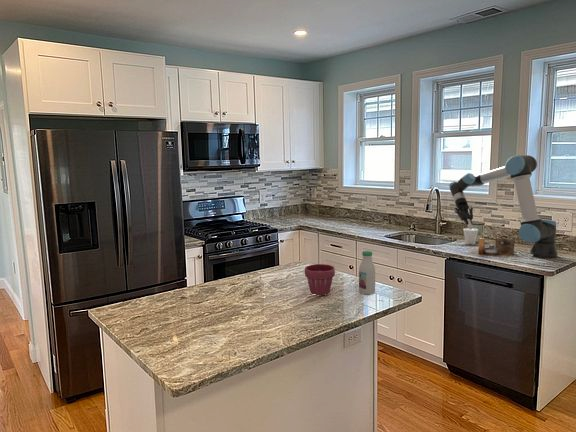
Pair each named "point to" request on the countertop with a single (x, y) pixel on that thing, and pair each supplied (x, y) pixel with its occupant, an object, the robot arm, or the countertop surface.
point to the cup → (470, 235)
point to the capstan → (487, 248)
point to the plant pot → (319, 278)
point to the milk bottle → (367, 274)
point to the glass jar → (479, 230)
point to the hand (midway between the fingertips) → (470, 228)
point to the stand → (500, 248)
